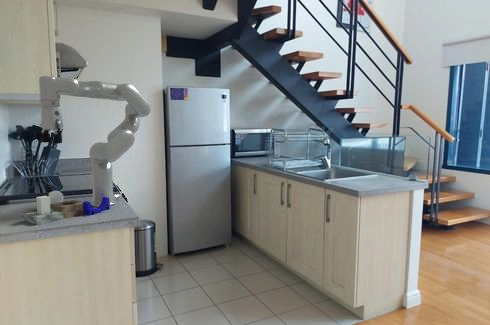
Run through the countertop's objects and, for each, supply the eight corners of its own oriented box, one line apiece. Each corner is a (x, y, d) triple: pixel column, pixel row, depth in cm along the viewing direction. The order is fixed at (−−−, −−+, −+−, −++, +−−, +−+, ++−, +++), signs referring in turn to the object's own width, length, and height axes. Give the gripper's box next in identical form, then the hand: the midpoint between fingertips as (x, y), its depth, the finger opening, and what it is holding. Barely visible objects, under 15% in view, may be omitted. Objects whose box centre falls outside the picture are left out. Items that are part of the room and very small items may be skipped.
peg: (46, 218, 150) (45, 195, 149) (50, 219, 148) (49, 196, 147) (37, 220, 147) (36, 197, 146) (42, 221, 145) (40, 198, 144)
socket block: (74, 210, 164) (73, 199, 163) (86, 213, 159) (86, 202, 158) (24, 220, 145) (24, 209, 145) (37, 224, 140) (36, 212, 140)
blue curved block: (90, 215, 155) (89, 202, 154) (83, 214, 157) (83, 201, 156) (111, 210, 166) (111, 197, 165) (105, 208, 168) (105, 196, 167)
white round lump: (46, 205, 173) (45, 190, 172) (63, 203, 176) (63, 188, 175) (45, 208, 166) (44, 193, 165) (63, 207, 169) (62, 191, 168)
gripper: (69, 104, 152) (71, 143, 154) (48, 105, 162) (50, 141, 164) (52, 103, 146) (54, 144, 148) (31, 104, 155) (33, 142, 157)
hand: (52, 142), depth 156 cm, fingers open, 9 cm apart
